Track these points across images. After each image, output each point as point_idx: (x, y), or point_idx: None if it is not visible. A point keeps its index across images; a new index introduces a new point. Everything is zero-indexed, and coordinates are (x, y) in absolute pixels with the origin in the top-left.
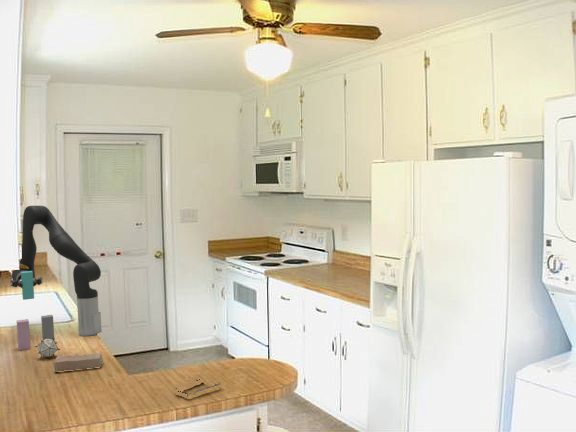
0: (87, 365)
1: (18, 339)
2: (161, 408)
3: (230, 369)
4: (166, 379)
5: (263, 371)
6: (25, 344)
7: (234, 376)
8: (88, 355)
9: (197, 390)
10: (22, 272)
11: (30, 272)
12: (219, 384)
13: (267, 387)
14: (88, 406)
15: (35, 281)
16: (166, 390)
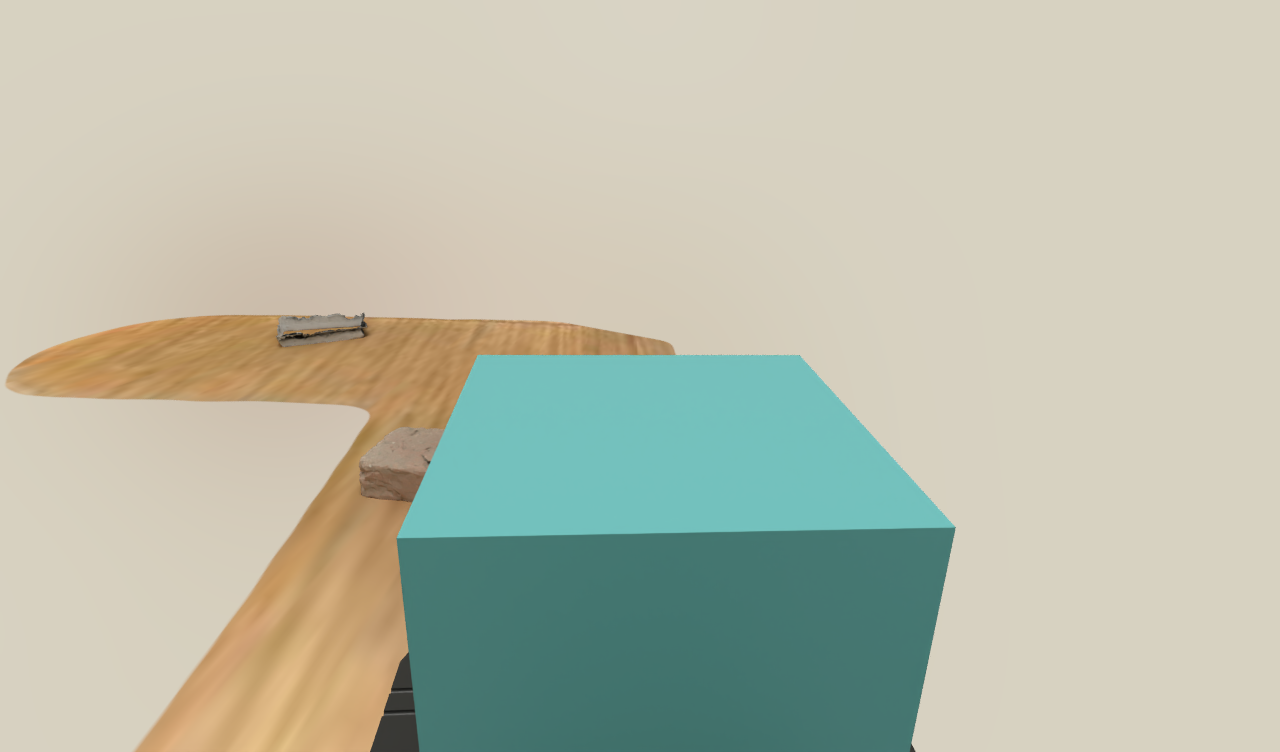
0: None
1: None
2: (420, 322)
3: (153, 367)
4: (317, 372)
5: (123, 347)
6: None
7: (196, 349)
8: (416, 451)
9: (339, 315)
10: (804, 403)
11: (542, 363)
12: (282, 321)
13: (215, 319)
14: (525, 348)
15: (391, 745)
16: (362, 348)
